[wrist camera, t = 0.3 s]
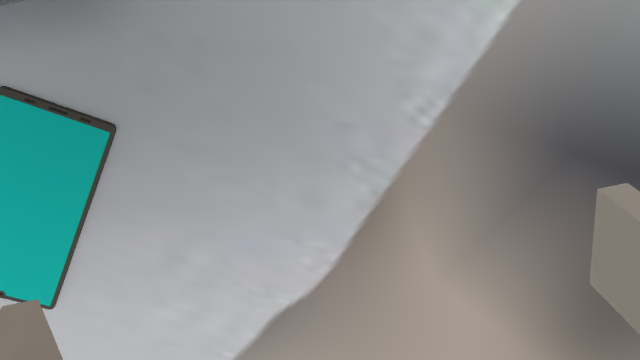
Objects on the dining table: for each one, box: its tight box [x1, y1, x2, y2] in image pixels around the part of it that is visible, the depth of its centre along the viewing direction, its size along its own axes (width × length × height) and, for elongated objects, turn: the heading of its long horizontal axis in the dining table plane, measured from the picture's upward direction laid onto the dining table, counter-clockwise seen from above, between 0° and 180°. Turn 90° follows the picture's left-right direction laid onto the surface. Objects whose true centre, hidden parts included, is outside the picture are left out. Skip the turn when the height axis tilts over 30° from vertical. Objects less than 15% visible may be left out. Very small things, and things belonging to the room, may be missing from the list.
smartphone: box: [0, 86, 116, 309], centre depth 41 cm, size 7×1×15 cm
